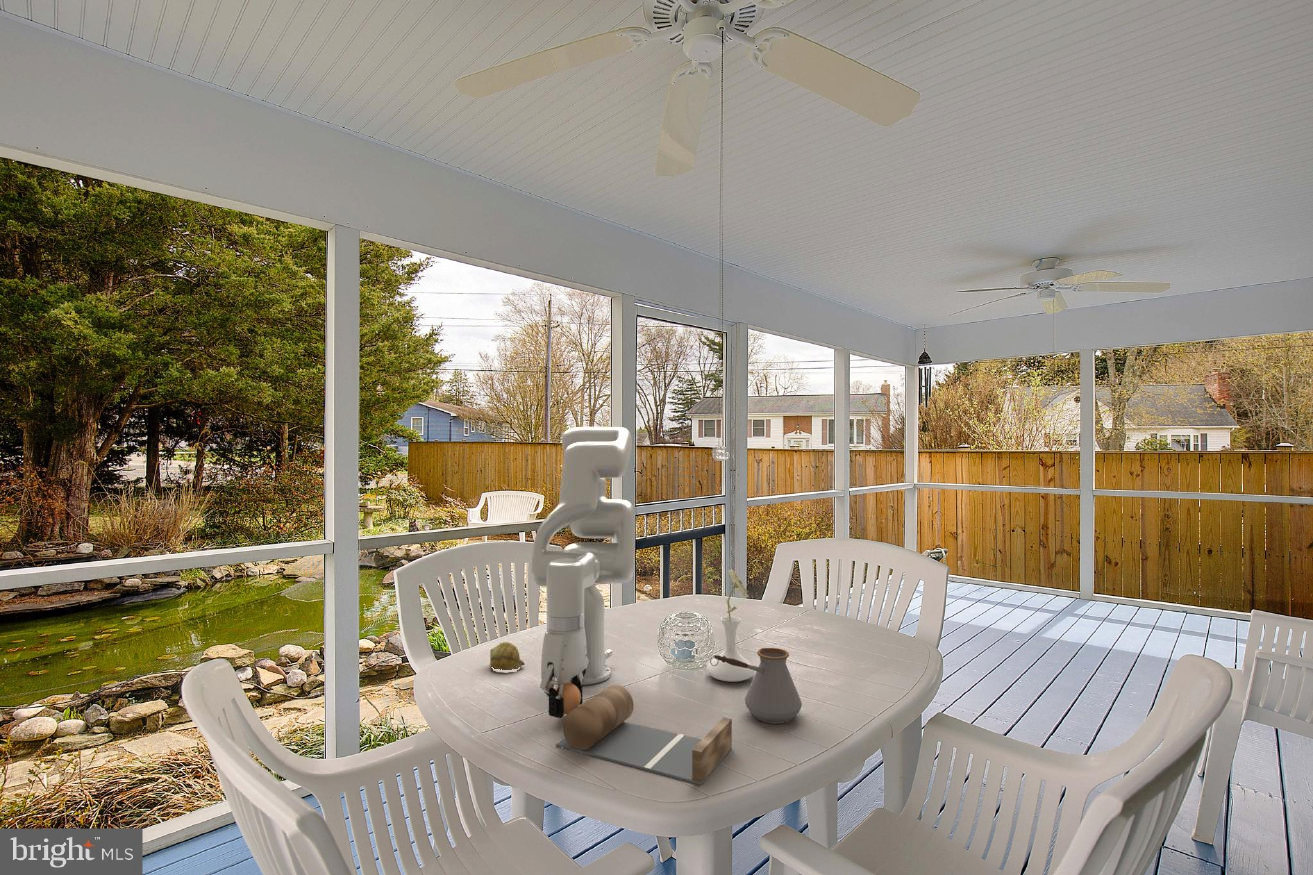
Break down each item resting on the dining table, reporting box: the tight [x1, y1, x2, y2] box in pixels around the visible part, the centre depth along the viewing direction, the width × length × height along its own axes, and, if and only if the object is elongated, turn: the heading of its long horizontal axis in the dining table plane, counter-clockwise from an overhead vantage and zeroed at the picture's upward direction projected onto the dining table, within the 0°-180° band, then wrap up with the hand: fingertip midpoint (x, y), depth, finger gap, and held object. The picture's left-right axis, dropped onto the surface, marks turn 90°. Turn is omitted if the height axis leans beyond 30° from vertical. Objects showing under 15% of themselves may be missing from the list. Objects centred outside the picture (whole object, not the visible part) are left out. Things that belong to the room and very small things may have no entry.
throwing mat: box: [555, 721, 733, 786], centre depth 119 cm, size 14×29×1 cm, turn 63°
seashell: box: [489, 641, 526, 670], centre depth 160 cm, size 10×7×8 cm
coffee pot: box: [709, 647, 803, 724], centre depth 130 cm, size 21×12×15 cm, turn 123°
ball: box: [554, 682, 581, 715], centre depth 131 cm, size 6×6×6 cm
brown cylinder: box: [562, 684, 634, 751], centre depth 123 cm, size 14×7×7 cm, turn 153°
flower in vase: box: [706, 568, 756, 683], centre depth 154 cm, size 13×11×25 cm
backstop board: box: [692, 716, 733, 782], centre depth 112 cm, size 14×2×5 cm, turn 153°
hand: (565, 708), depth 131 cm, fingers closed on ball, 5 cm apart
